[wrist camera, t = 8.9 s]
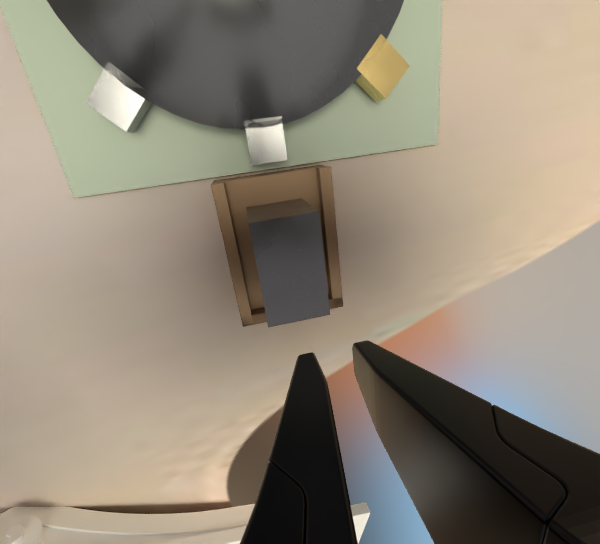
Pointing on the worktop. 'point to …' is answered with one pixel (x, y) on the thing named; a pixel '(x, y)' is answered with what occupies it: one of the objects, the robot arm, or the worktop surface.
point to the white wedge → (134, 526)
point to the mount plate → (209, 140)
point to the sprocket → (234, 59)
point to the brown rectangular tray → (237, 237)
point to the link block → (289, 260)
